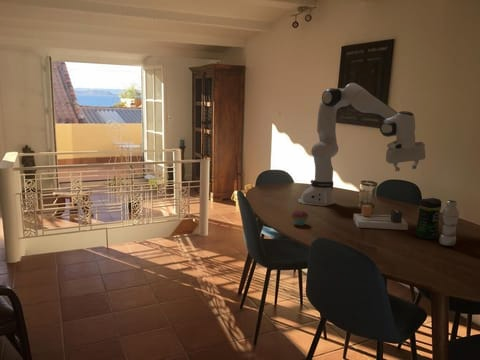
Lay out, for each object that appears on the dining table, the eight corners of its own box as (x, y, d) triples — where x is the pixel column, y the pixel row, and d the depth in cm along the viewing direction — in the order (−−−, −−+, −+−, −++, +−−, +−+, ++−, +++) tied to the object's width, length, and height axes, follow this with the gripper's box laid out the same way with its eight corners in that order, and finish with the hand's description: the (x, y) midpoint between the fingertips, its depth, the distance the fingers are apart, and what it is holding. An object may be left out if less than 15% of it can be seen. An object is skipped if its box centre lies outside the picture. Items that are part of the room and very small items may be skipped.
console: (357, 227, 200) (358, 221, 199) (353, 218, 215) (353, 213, 215) (407, 229, 197) (408, 223, 196) (399, 221, 212) (399, 215, 212)
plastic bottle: (435, 243, 178) (440, 199, 174) (449, 242, 178) (454, 199, 175) (443, 248, 171) (448, 202, 168) (458, 247, 172) (464, 202, 168)
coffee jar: (427, 240, 180) (431, 201, 177) (412, 236, 187) (416, 197, 184) (441, 238, 185) (445, 199, 182) (426, 233, 192) (430, 195, 188)
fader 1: (363, 216, 208) (363, 206, 208) (361, 213, 213) (362, 204, 212) (370, 216, 208) (371, 207, 207) (369, 214, 213) (369, 204, 212)
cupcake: (309, 223, 206) (310, 200, 204) (306, 227, 198) (307, 204, 196) (292, 221, 209) (293, 199, 207) (289, 225, 201) (290, 202, 199)
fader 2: (392, 222, 198) (393, 212, 197) (390, 219, 203) (391, 209, 202) (401, 222, 197) (402, 212, 196) (398, 219, 202) (399, 210, 201)
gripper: (420, 140, 207) (420, 166, 210) (384, 145, 205) (384, 171, 208) (428, 141, 201) (428, 168, 204) (390, 146, 199) (391, 173, 202)
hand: (405, 169), depth 206 cm, fingers open, 8 cm apart
